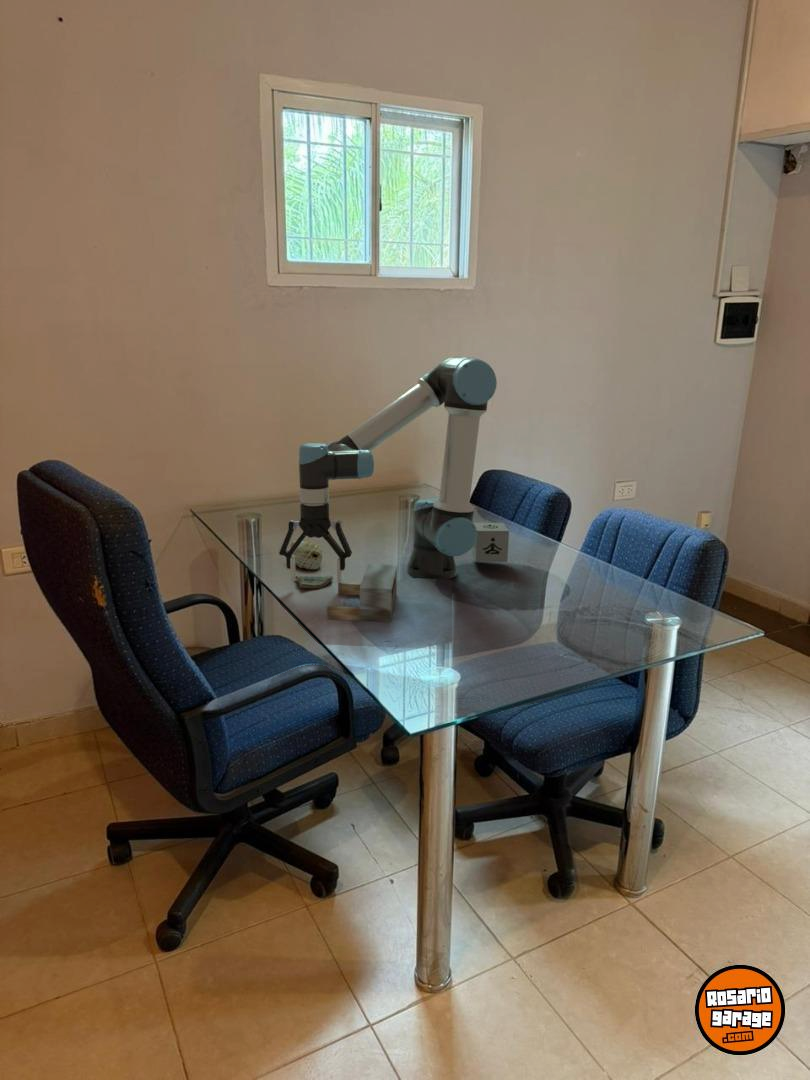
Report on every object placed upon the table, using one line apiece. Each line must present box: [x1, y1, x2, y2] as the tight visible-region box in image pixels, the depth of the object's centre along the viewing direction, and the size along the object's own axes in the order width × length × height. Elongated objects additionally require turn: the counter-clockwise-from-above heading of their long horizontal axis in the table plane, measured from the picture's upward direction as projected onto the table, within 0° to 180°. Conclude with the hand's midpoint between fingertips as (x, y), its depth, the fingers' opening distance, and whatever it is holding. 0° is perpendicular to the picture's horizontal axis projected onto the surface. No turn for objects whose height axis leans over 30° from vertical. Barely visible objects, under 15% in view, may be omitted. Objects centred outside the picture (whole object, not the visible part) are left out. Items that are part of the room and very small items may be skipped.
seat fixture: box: [326, 563, 398, 623], centre depth 192 cm, size 16×19×8 cm
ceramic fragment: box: [295, 575, 334, 589], centre depth 209 cm, size 11×3×10 cm
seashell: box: [290, 540, 323, 570], centre depth 224 cm, size 10×10×10 cm
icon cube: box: [470, 522, 510, 563], centre depth 237 cm, size 10×10×10 cm
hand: (316, 580), depth 203 cm, fingers open, 12 cm apart
